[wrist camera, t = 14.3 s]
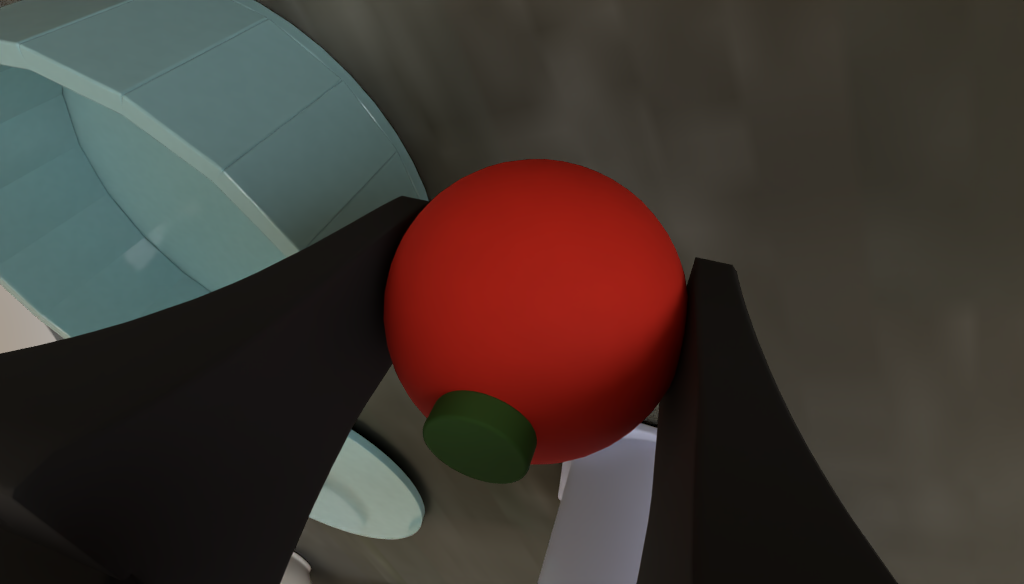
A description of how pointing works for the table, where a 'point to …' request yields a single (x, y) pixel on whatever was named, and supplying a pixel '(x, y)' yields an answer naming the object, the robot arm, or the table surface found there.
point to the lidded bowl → (297, 571)
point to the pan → (173, 153)
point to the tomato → (533, 316)
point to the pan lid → (368, 494)
